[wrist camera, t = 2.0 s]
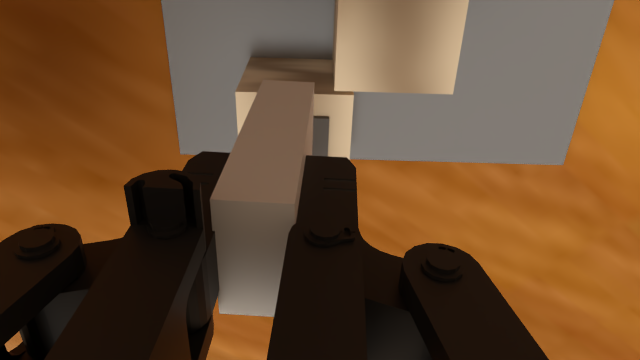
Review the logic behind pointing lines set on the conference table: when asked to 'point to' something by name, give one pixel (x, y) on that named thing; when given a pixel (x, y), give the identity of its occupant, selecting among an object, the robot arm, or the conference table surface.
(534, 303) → the conference table surface
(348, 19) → the plain block
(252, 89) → the marked block
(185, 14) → the mat
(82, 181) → the conference table surface
